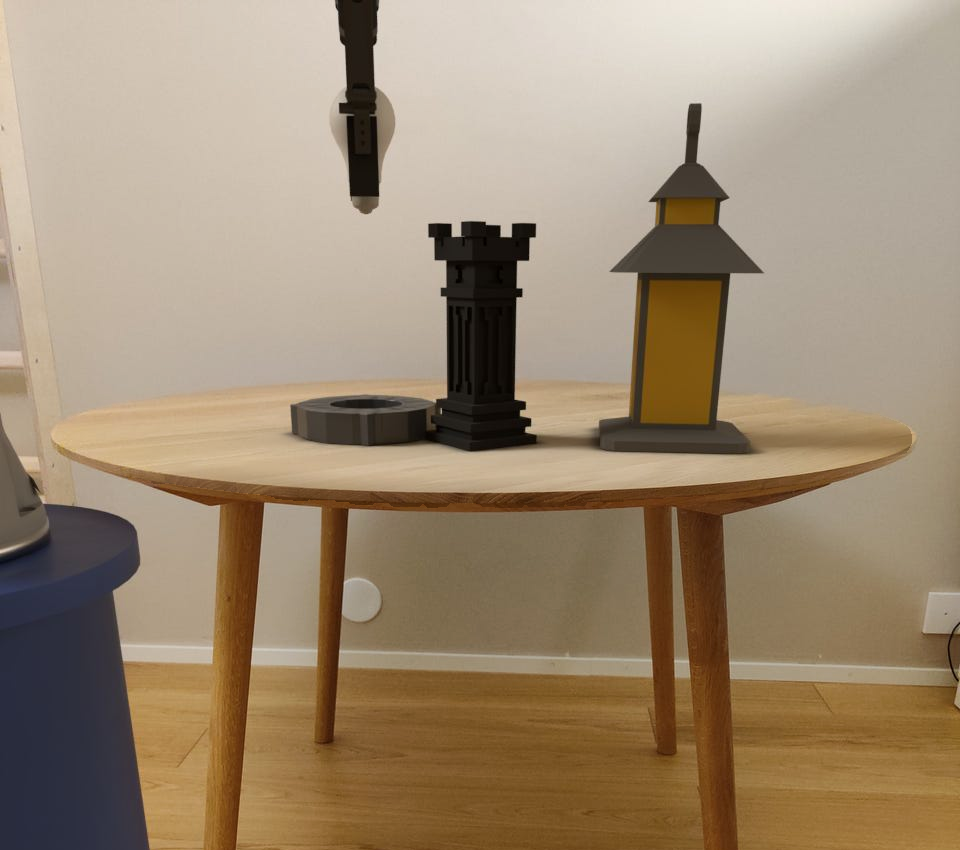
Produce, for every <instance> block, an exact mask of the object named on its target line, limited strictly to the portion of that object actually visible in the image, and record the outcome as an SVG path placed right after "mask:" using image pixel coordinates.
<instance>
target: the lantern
mask: <svg viewBox="0 0 960 850" xmlns="http://www.w3.org/2000/svg"><path fill="white" fill-rule="evenodd" d="M702 107H703V106H702V103H701V102H700V103H698V102H697V103H696V102H695V103H692V102H691V103H689V104H688V109H687V118H686V131H685V132H686V134H685V135H686V138H685V139H686V141H685V153H684V154H685V155H684V163H682V164H680V165H679V166H678V167H677V168H676V169H675V170H674V171H673V172H672V174H671V175H670V176H669V177H668V178H667V180H666V181H665V182H664V183H663V184H662V185H661V187H659V189H658V190H657V191H656V192H655V193H654V194H653V196H652V197H651V198H650V199H649V200H648V201H647V202H648V203H656V204H655V220H654V227H653V228H652V229H651V230H649V232H647V234H646V235H645V236H644V237H642V238H641V239H640V241H638V242H637V244H636V245H635V246H634V247H633V248H631V250H630V251H629V252H627V253H626V255H624V257H622V258H621V259H620V260H619V261H618V262H617V263H616V264H615V265H614V266H613V267H612V268H611V269H610V270H609V271H608V272H609V273H617V274H618V273H619V274H620V273H621V274H623V273H625V274H626V273H627V274H628V273H629V274H631V273H632V274H634V273H637V275H636V276H637V277H636V278H637V279H636V293H635V309H634V327H633V343H632V357H631V358H632V361H631V376H630V390H629V391H630V392H629V405H628V408H629V409H628V416H621V417H611V418H602V419H599V420H598V437H599V446H600V449H602V450H604V451H612V452H642V453H643V452H647V453H648V452H650V453H686V454H687V453H689V454H690V453H691V454H692V453H693V454H729V455H730V454H732V455H733V454H734V455H739V454H748V453H749V452H750V443H751V441H750V440H749V439H748V438H747V437H746V436H745V435H744V434H743V433H742V432H741V430H739V428H738V427H737V426H736V425H735V424H734V423H732V422H729V421H726V420H719V419H718V409H719V398H720V387H721V379H722V378H721V377H722V369H723V368H722V366H723V357H724V344H725V335H726V326H727V325H726V324H727V314H728V313H727V312H728V304H729V293H730V283H731V274H765V272H764V271H763V270H762V269H761V268H760V266H758V264H757V263H756V262H755V261H754V260H753V259H752V258H751V257H750V256H749V255H748V254H747V252H745V251H744V250H743V249H742V247H740V245H739V244H738V243H737V242H736V241H735V240H734V239H733V238H732V237H731V236H730V235H729V234H728V232H726V231H725V230H724V229H723V228H722V226H720V225H719V221H720V212H721V203H722V202H724V201H726V200H728V199H730V196H729V195H728V193H727V192H726V191H725V190H724V189H723V187H721V185H720V184H719V183H718V182H717V180H716V179H715V178H714V177H713V176H712V174H711V173H710V172H709V171H708V170H707V168H705V165H702V164H700V163H699V162H698V150H699V136H700V132H701V125H702V124H701V122H702V111H703V109H702Z"/></svg>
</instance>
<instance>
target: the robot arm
mask: <svg viewBox="0 0 960 850" xmlns="http://www.w3.org/2000/svg"><path fill="white" fill-rule="evenodd" d="M334 6H335V9H336V11H337V21H338V22H337V24H338V33H339V41H340V42H339V43H341V45H343V46H344V59H345V80H346V81H345V82H346V83H345V85H346V86H347V90H346V91H345V98H346V100H347V103H339V114H354V116H346V120H347V143H348V166H349V182H348V184H349V185H348V188H349V197H350V202H352V197H379V198H380V184H379V168H378V139H377V116H370V114H375V111H376V110H377V104H376V103H375V101H376V98H377V92H376V90H375V87H376V83H375V54H374V53H375V52H374V46H375V45H377V42H378V31H379V30H378V25H379V23H378V11H379V9H380V0H334ZM39 494H42V492H41V490H40V489H39V487H38V485H37V483H36V481H35V479H34V478H33V477H32V476H31V475H30V474H29V473H28V472H27V471H26V468H25V467H24V465H23V463H22V461H21V460H20V457H19V456H18V454H17V452H16V450H15V448H14V446H13V445H12V442H11V440H10V439H9V437H8V434H7V433H6V430H5V427H4V425H3V419H2V414H1V413H0V565H3V564H6V563H10V562H13V561H16V560H18V559H21V558H24V557H26V556H29V555H31V554H33V553H35V552H37V551H38V550H40V549H42V548H43V547H44V546H46V545H47V544H48V543H49V541H50V539H51V533H50V526H49V520H48V517H47V516H46V510H45V507H44V505H43V504H44V503H43V501H42V499H41V497H40V495H39Z"/></svg>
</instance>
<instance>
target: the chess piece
mask: <svg viewBox="0 0 960 850" xmlns="http://www.w3.org/2000/svg"><path fill="white" fill-rule="evenodd" d="M501 231H502V225H501V224H487V221H481V220H480V221H478V220H468V221H467V220H466V221H460V236H453V223H445V222H433V223H431V222H430V223H427V237H428V238H429V239H430V238H433V246H434V247H433V248H434V249H433V251H434V253H433V254H434V258H433V259H434V261H435V262H436V261H437V262H438V261H439V262H441V261H445V284H446V285H445V287H440V297H443V298H446V299H445V300H446V303H445V304H446V397H444V398H443V397H441V398H436V399H435V402H436V407H438V408H441V414H437V415H431V423H432V424H436V430H430V431H426V438H425V440H428V441H432V442H435V443H439V444H442V445H446V446H449V447H453V448H458V449H461V450H464V451H467V452H472V451H481V450H482V451H483V450H489V449H498V448H499V449H500V448H505V447H507V448H508V447H515V446H524V445H525V446H526V445H532V444H537V443H538V442H537V440H538V439H537V437H538V436H537V435H538V434H534V433H530V432H527V431H526V428H531V427H532V417H527V416H523V415H521V411H526V410H527V401H526V400H525V401H524V400H520V399H516V357H517V355H516V353H517V352H516V350H517V300H518V299H517V298H523V297H524V296H523V294H524V289H523V288H521V287H518V262H529V261H530V248H531V247H530V246H531V239H534V238H537V223H535V222H513V223H511V236H502V233H501Z"/></svg>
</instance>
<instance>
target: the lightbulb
mask: <svg viewBox="0 0 960 850" xmlns="http://www.w3.org/2000/svg"><path fill="white" fill-rule="evenodd" d="M346 90H347V85H346V86H345V87H342V89H341V90H339V91H338V92H337V94H336V95H335V96H334V98H333V100H332V102H331V104H330V108H329V113H328V123H329V128H330V131H331V134H332V136H333V138H334V140H335V142H336V145H337V147H338V148H339V150H340V152H341V155H342V157H343V160H344V162H345V168H346V174H347V182H348V183H349V166H348V143H347V120H346V116H354V114H339V103H347V100H346V98H345V91H346ZM375 90H376V92H377V98H376V101H375V103H376V104H377V110H376V111H375V114H370V116H377V139H378V168H379V185H381V183H382V171H383V165H384V161H385V156H386V153H387V152H388V149H389V147H390V145H391V142H392V140H393V137H394V135H395V131H396V130H395V129H396V115H395V110H394V107H393V104H392V102H391V100H390V99H389V97H388V96H387V95H386V94H385V92H383V90H381V89H380V88H378V87H377V86H375ZM351 204H352V206H353V208H354V209H357V210H358V211H359V213H360V214H362V215H369V214H372V213H373V210H375V209H378V207H379V205H380V196H379V197H352V201H351Z"/></svg>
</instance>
